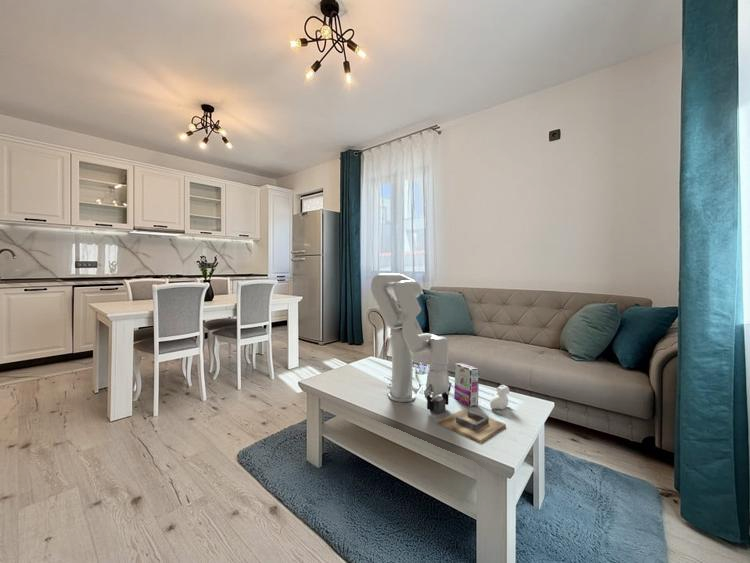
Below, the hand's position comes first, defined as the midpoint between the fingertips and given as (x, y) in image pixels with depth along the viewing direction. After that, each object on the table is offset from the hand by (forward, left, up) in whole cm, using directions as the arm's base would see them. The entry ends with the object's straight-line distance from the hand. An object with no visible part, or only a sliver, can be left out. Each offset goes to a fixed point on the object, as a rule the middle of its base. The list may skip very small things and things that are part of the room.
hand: (437, 406), depth 131 cm
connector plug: (0, 0, -2) cm, 2 cm away
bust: (+15, +24, -2) cm, 28 cm away
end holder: (+16, 0, -2) cm, 16 cm away
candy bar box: (+2, +18, -2) cm, 18 cm away
